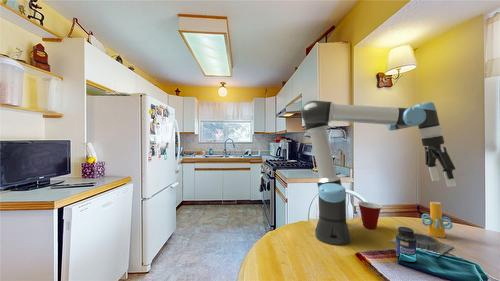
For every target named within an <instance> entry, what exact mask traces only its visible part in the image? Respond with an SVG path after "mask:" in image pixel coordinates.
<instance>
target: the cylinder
mask: <svg viewBox="0 0 500 281" xmlns="http://www.w3.org/2000/svg"><path fill="white" fill-rule="evenodd" d="M442 208H443V207H442V202H439V201H430V202H429V211H430V212H429V213H430V214H428V213H423V214H422V215H421V223H422V224H423V225H424V226H427V235H428V236H430V237H433V238H434V237H435V238H439V239H443V238H446V230H451V229H452V228H453V223H452V222H451V219H450V218H449V217H448V216H443V213H442V212H443V211H442ZM442 216H443V217H442ZM426 219H428V221H427V220H426ZM444 222H447V223H444ZM448 226H449V227H448Z"/></svg>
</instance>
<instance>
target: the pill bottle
mask: <svg viewBox="0 0 500 281" xmlns="http://www.w3.org/2000/svg"><path fill="white" fill-rule="evenodd" d="M397 232H398V233H396V235H395V238H396V244H395V256H399V254H400V253H403V254H409V255H415V254H416V255H417V251H416V238H415V237H414V236H413V234H414V233H415V232H414V229H412V228H411V227H407V226H398V228H397Z"/></svg>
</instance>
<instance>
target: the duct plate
mask: <svg viewBox="0 0 500 281" xmlns="http://www.w3.org/2000/svg"><path fill="white" fill-rule="evenodd" d="M413 236H414V237H415V238H416V248H421V249H427V250H431V251H433V252H436V253H440V254H442V253H445V252H446V253H447V252H449V251H451V250H452V249H454V245H451V244H447V243H443V242H440V241H439V240H438V239H437V238H436V237H435V238H434V236H431V235H428V234H427V235H426V234H423V233H417V232H414V234H413ZM389 242H391V243H392V244H395V245H396V237H395V238H392V239H390V241H389ZM446 253H445V254H446Z"/></svg>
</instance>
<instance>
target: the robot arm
mask: <svg viewBox="0 0 500 281" xmlns="http://www.w3.org/2000/svg"><path fill="white" fill-rule="evenodd" d="M300 115H301V119H303V122H304V126H305V132H307V133H309V136H310V141H311V144H312V150H313V155H314V159H315V160H314V161H315V165H316V169H317V173H318V179H317V180H316V183H317V189H318V190H317V192H318V193H317V194H318V220H317V224H316V226H315V230H314V232H315V233H314V237H315V238H316V239H317V240H319V241H321V242H323V243H325V244H329V245H335V246H336V245H337V246H342V245H348V244H350V243H351V242H352V234H351V232H350V229H349V225H348V223H347V192H346V188H345V186H344V185H343V184H342V180H341V178H340V177H339V176H337V171H336V168H335V163H334V158H333V153H332V150H331V144H330V141H329V137H328V132H327V131H328V128H329V123H331V122H345V123H357V124H360V123H362V124H373V125H385V126H386V128H387V130H388V131H398V130H401V129H402V130H403V129H408V128H413V127H417V128H418V132H419V135H420V138H421V144H422V147H424V152H425V153H424V154H425V165H426V166H427V168H428V170H429V174H430V177H431V182H434V181H437V182H438V181H440V176H439V172H438V168H437V164H436V162H437V161H438V162H439V164H440V166H441V167H442V169H443V170H442V172H443V175H444V179H445V183H446V186H447V187H448V188H453V187H457V182H456V179H455V176H454V170H456V167H455V164H454V163H453V161H452V159H451V157H450V155H449V153H448V151H447V148H446V146H442V145H444V144H445V139H444V136H443V135H442V134H443V133H442V126H441V125H440V120H439V116H438V110H437V108H436V105H435V103H434V102H432V101H428V102H423V103H418V104H415V105H414V106H410V107H395V106H393V107H392V106H391V107H390V106H372V105H356V104H336V103H334V102H333V101H325V100H315V99H314V100H310V101H307V102H306V103H304V105H303V106H302V108H301V114H300Z"/></svg>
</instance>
